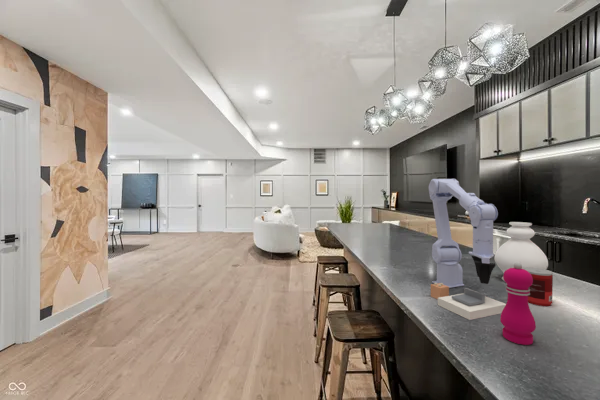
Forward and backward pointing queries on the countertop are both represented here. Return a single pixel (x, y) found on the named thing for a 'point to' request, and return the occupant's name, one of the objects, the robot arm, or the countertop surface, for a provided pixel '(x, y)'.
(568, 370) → the countertop surface
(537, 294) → the canned food
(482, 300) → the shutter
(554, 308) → the countertop surface
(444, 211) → the robot arm
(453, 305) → the socket board
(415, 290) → the countertop surface
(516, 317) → the pepper mill
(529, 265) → the decorative vase
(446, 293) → the plug
